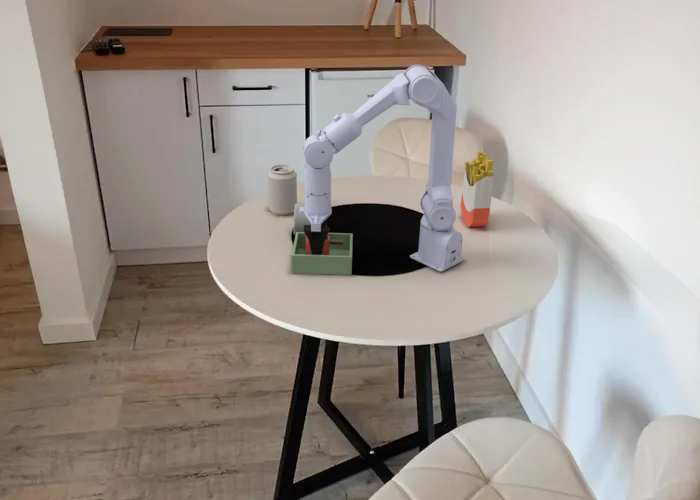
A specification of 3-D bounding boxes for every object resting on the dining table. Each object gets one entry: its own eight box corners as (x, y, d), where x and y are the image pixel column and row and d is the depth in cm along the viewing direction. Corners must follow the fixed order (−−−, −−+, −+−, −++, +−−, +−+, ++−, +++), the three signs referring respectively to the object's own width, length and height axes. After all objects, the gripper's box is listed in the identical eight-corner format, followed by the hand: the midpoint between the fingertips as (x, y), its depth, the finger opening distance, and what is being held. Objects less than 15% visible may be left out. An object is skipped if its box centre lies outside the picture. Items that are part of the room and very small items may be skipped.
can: (281, 202, 184) (280, 160, 179) (302, 209, 180) (302, 167, 175) (262, 211, 179) (261, 168, 173) (284, 218, 175) (283, 175, 169)
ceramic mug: (327, 240, 165) (327, 211, 161) (293, 240, 164) (292, 210, 161) (326, 222, 174) (326, 194, 171) (294, 222, 174) (294, 194, 170)
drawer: (352, 250, 160) (352, 233, 158) (351, 275, 150) (352, 257, 148) (296, 248, 160) (296, 231, 158) (291, 273, 150) (291, 255, 148)
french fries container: (469, 231, 171) (477, 164, 162) (458, 213, 180) (465, 149, 172) (487, 231, 171) (496, 163, 163) (475, 213, 181) (482, 148, 172)
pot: (304, 264, 153) (304, 242, 150) (306, 253, 157) (306, 231, 155) (342, 265, 152) (342, 243, 150) (342, 254, 157) (343, 232, 155)
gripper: (302, 177, 154) (302, 231, 160) (296, 203, 141) (297, 261, 147) (333, 178, 154) (332, 232, 160) (330, 204, 141) (330, 262, 147)
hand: (318, 246), depth 153 cm, fingers open, 7 cm apart
